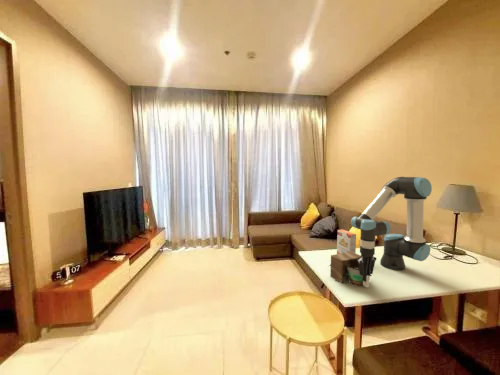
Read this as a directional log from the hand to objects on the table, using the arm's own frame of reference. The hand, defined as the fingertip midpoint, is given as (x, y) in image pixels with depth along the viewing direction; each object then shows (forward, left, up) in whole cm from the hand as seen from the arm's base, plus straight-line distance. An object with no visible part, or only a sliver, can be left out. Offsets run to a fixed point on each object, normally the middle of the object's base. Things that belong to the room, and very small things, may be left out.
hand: (365, 286), depth 129 cm
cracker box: (-24, -39, -2) cm, 46 cm away
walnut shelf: (0, -15, -2) cm, 15 cm away
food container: (+1, -5, -2) cm, 6 cm away
